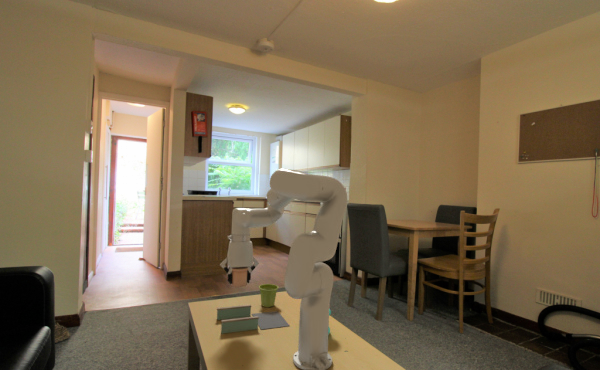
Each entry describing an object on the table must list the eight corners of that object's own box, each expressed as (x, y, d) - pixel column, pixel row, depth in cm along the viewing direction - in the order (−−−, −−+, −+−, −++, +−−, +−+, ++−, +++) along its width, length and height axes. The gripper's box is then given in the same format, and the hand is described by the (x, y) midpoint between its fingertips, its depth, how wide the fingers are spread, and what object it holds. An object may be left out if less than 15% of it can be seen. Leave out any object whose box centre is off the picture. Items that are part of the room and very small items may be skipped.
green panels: (258, 329, 122) (258, 317, 122) (221, 333, 117) (221, 321, 117) (250, 315, 136) (250, 304, 136) (216, 318, 130) (216, 307, 130)
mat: (289, 326, 126) (289, 325, 126) (260, 329, 122) (260, 329, 122) (277, 311, 141) (277, 311, 141) (251, 314, 137) (251, 313, 137)
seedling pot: (249, 286, 125) (250, 268, 125) (231, 288, 122) (232, 269, 122) (245, 281, 131) (246, 264, 131) (228, 283, 128) (229, 265, 129)
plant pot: (279, 302, 153) (279, 284, 153) (275, 309, 144) (276, 290, 144) (260, 300, 154) (261, 283, 154) (256, 307, 144) (256, 289, 145)
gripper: (220, 240, 120) (218, 287, 120) (263, 239, 127) (262, 283, 126) (217, 237, 127) (216, 281, 127) (259, 236, 134) (257, 278, 133)
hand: (239, 282), depth 127 cm, fingers closed on seedling pot, 6 cm apart
